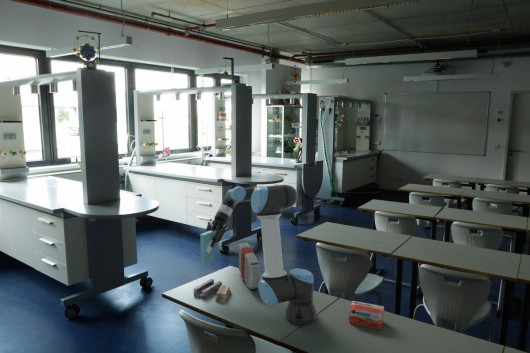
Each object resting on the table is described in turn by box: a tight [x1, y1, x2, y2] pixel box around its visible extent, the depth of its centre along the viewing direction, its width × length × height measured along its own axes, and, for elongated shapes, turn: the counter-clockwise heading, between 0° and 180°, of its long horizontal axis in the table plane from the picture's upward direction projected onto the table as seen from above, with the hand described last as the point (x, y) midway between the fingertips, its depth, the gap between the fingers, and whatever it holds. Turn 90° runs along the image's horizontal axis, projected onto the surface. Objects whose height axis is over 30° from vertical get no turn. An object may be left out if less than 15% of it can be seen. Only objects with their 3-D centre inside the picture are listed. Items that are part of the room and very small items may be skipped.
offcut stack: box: [214, 284, 232, 303], centre depth 214 cm, size 5×11×4 cm, turn 167°
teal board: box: [199, 231, 215, 267], centre depth 216 cm, size 2×8×17 cm, turn 149°
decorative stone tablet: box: [238, 242, 262, 290], centre depth 230 cm, size 19×6×30 cm
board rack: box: [193, 278, 223, 300], centre depth 219 cm, size 8×15×4 cm, turn 149°
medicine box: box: [348, 300, 385, 330], centre depth 189 cm, size 15×8×8 cm, turn 69°
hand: (205, 251), depth 214 cm, fingers closed on teal board, 2 cm apart
